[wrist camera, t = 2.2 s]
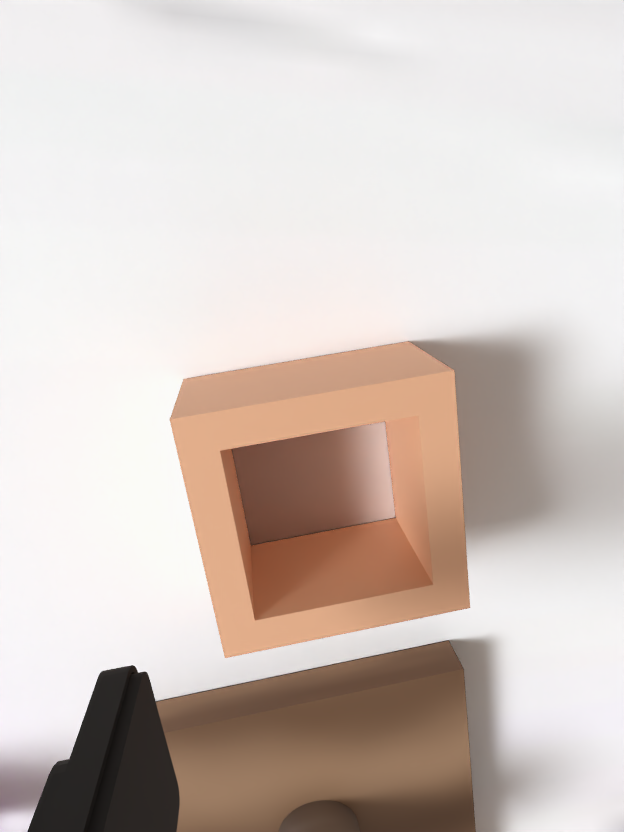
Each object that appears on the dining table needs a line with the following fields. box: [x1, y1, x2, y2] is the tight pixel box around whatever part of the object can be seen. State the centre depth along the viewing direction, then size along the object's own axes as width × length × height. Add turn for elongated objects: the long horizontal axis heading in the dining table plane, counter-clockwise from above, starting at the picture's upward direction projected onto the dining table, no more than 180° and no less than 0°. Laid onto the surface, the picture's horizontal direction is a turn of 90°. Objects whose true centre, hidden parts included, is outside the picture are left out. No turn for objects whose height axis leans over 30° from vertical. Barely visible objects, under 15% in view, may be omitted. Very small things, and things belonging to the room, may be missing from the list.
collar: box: [170, 341, 470, 658], centre depth 17 cm, size 7×7×4 cm
